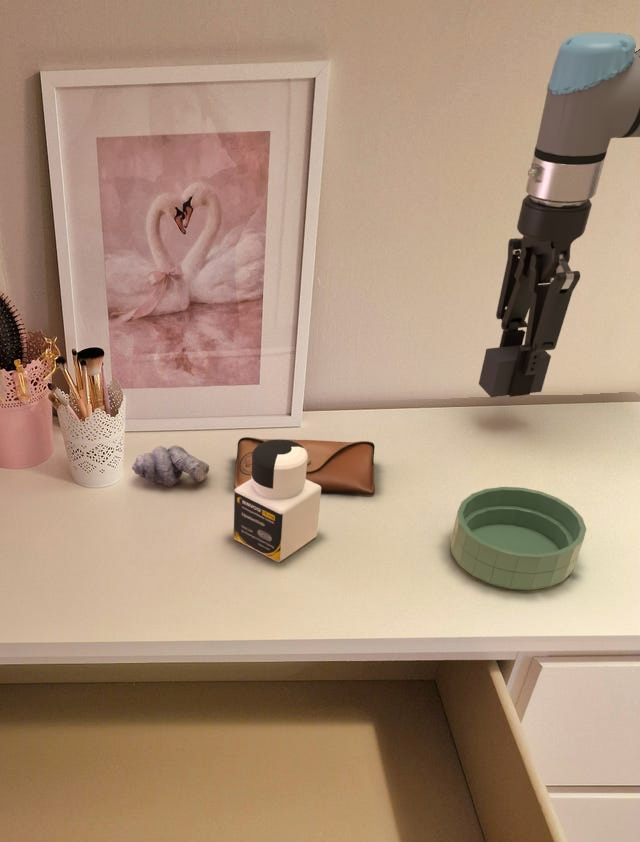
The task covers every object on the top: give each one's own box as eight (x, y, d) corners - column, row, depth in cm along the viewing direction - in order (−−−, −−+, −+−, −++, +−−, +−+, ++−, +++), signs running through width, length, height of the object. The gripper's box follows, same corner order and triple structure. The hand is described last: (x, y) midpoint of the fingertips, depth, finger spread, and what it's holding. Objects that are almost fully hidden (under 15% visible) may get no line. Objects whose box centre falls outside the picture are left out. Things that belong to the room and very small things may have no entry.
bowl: (538, 516, 104) (549, 480, 100) (595, 584, 94) (609, 547, 91) (432, 530, 102) (439, 494, 99) (479, 600, 93) (489, 563, 89)
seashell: (210, 485, 114) (134, 491, 114) (207, 444, 114) (131, 450, 114) (211, 481, 109) (132, 487, 109) (208, 438, 108) (128, 444, 108)
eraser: (527, 378, 118) (536, 343, 114) (541, 392, 115) (551, 356, 111) (478, 384, 117) (486, 348, 114) (490, 397, 114) (499, 361, 111)
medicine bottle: (232, 539, 103) (233, 450, 95) (271, 514, 106) (276, 425, 98) (278, 564, 99) (284, 473, 91) (317, 537, 103) (326, 447, 94)
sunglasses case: (233, 490, 110) (235, 436, 108) (235, 488, 116) (237, 437, 115) (378, 494, 108) (382, 439, 106) (371, 492, 114) (375, 440, 113)
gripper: (495, 179, 106) (457, 361, 122) (564, 223, 93) (512, 420, 109) (553, 174, 107) (508, 356, 122) (629, 217, 94) (568, 413, 110)
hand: (510, 386), depth 116 cm, fingers closed on eraser, 4 cm apart
